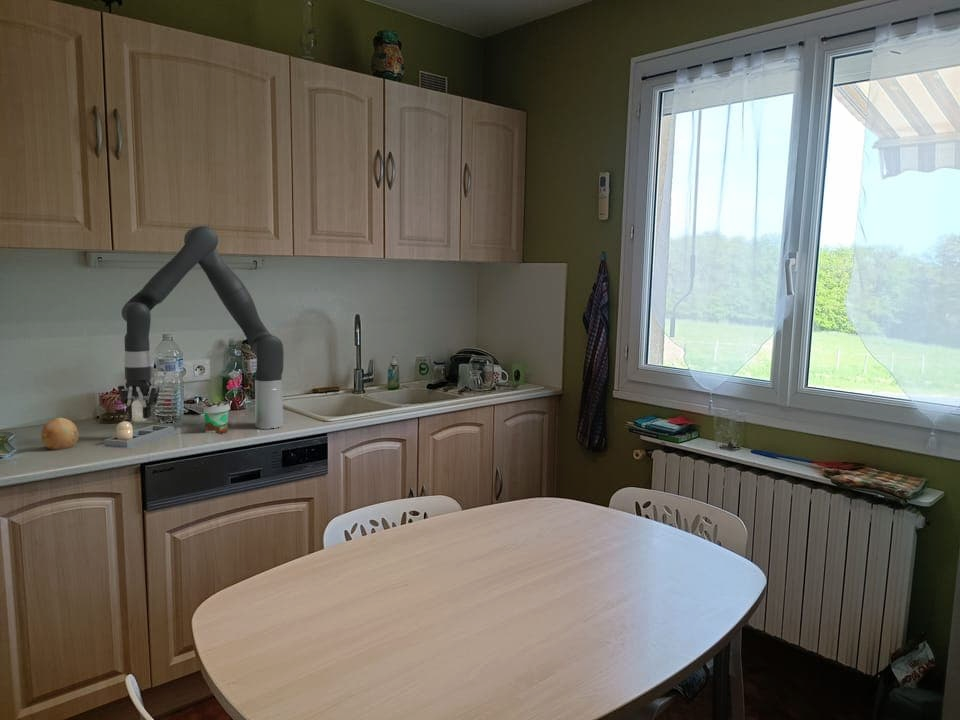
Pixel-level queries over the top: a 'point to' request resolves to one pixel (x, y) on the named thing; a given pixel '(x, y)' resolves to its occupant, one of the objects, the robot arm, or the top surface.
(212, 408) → the food container
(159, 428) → the carton
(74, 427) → the onion
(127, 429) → the brown egg
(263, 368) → the robot arm
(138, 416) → the white domed cylinder
